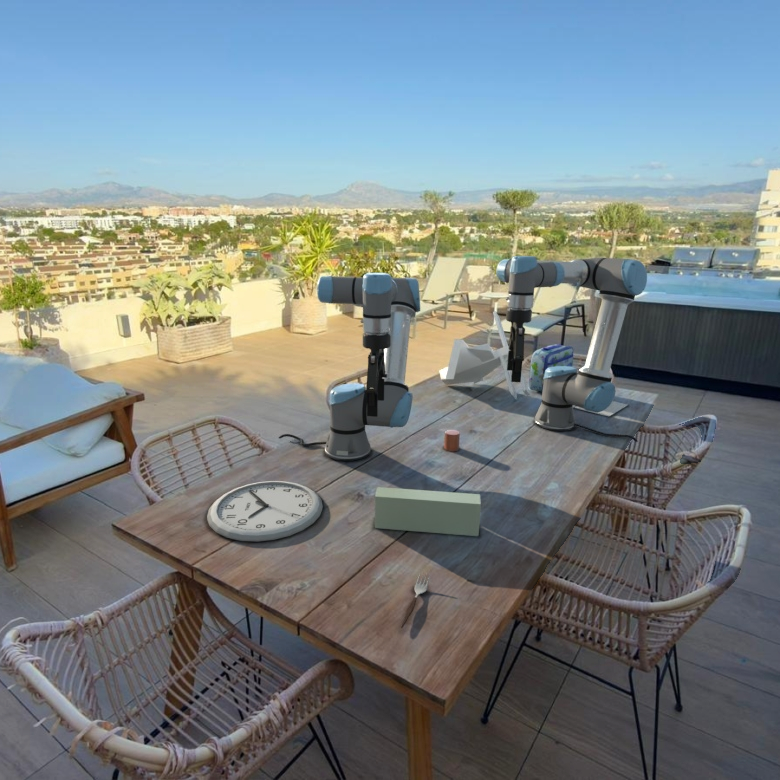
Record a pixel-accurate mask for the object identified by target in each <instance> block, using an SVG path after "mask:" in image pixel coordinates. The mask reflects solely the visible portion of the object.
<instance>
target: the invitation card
mask: <svg viewBox="0 0 780 780" xmlns="http://www.w3.org/2000/svg"><path fill="white" fill-rule="evenodd" d="M628 406H629V404H627V403H623V402H618V401H614V400H613V401H612V402H611V404H610V405H609V406H608V407H607V408H606V409H605V410H603V411H601V412H593V411H587V410H585V409H583V408H580V407H577V406H574V407H573V409H575V410H581V411H584V412H587V413H593V414H596V415H600V416H604V417H608V418H609V417H611V416H613V415H614V414H616V413H617V412H619V411H621V410H623V409H624V408H626V407H628Z"/></svg>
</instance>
